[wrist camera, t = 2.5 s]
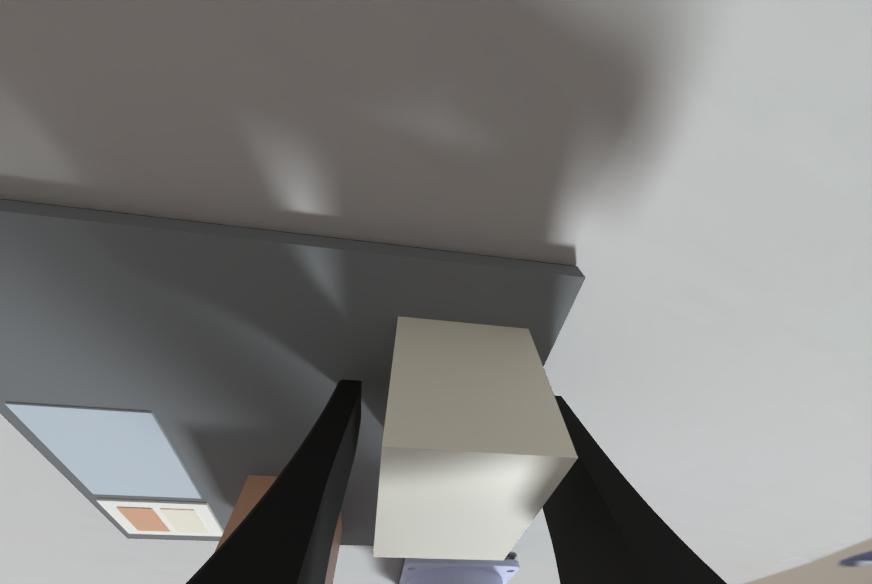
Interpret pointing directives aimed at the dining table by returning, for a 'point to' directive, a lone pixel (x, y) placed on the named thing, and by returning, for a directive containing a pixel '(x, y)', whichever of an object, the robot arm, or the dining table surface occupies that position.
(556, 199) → the dining table surface
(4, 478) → the dining table surface
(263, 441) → the mat
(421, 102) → the dining table surface
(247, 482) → the terracotta brick
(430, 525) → the cream brick
